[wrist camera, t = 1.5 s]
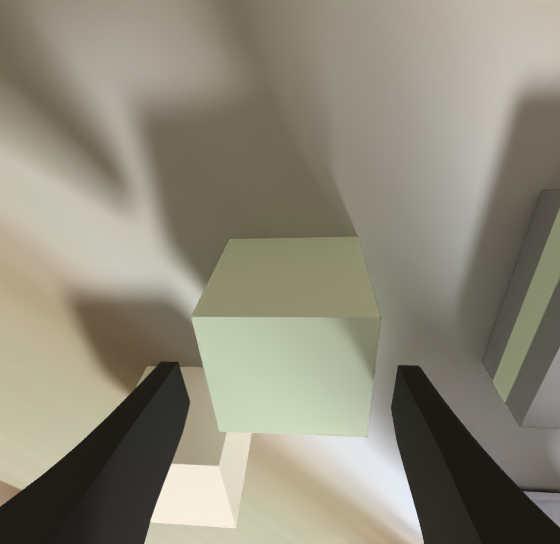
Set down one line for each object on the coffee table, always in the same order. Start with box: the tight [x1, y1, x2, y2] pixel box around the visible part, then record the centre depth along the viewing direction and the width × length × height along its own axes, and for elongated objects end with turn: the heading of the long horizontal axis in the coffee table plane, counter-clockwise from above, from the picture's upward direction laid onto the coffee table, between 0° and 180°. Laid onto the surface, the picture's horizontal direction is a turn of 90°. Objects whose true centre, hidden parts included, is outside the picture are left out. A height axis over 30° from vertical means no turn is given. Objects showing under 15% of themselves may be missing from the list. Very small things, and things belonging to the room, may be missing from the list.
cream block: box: [136, 366, 252, 528], centre depth 18 cm, size 6×6×6 cm
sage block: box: [191, 236, 381, 437], centre depth 14 cm, size 6×6×6 cm
